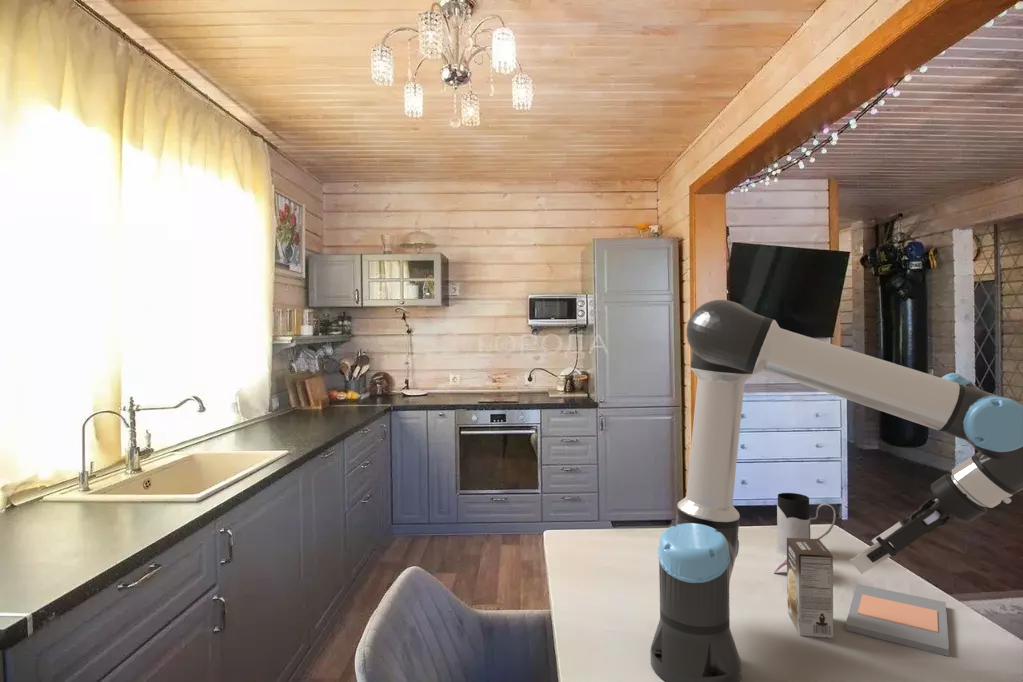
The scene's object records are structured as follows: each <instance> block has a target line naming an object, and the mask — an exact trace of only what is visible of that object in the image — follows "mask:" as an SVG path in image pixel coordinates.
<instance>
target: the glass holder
mask: <svg viewBox="0 0 1023 682" xmlns="http://www.w3.org/2000/svg"><path fill="white" fill-rule="evenodd" d="M823 506H828V507H830V508H831V509H832V511H833V520H832V523H831V525H830V527H829V529H828V530H827V531H826V532H825V533H823V534H821V536H819V537H818V538H817V537H816V539H819V540H820V541H821V539H823V538H824V537H825V536H827V535H828V534H829V533H831V531H832V529H833V528H834V526H835V522H836V510H835V508H834V506H832V504H828V503H821V504H819V505H818V506H817V508H816V509H815V517H811V516H810V497H809V496H807V495H804V494H801V493H795V492H781V493H778V494H777V504H776V509H777V510H776V513H777V514H776V515H777V516H776V520H777V521H776V524H777V533H776V534H777V546H776V549H775V552H776V551H777V552H778V553H780V554H782V555H785V556H787V538H805V539H811V521H812V520H813V521H814V520H816V519H817V518H818V516H819V510H820V508H821V507H823ZM777 552H776V553H777ZM778 553H777V554H778Z"/></svg>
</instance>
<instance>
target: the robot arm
mask: <svg viewBox="0 0 1023 682" xmlns="http://www.w3.org/2000/svg"><path fill="white" fill-rule="evenodd" d="M686 339H687V343H688V345H689V347H690V349H691V357H690V360H691V361H690V371H692V372H693V373H694V375H695V376H696V378H697V379H696V380H697V381H696V392H695V403H694V413H693V422H692V423H693V424H692V433H691V443H690V444H691V445H690V453H689V454H690V455H689V466H688V475H687V488H686V495H685V497H684V498H682V499H681V500H680V501H678V502H677V505H676V506H677V508H676V517H675V518H676V519H675V526H674V525H672V526H669V527H668V528H667V529H665V530H664V531H663V532H662V534H661V535H660V538H659V543H658V548H657V549H658V550H657V555H658V563H659V564H658V567H659V569H658V574H659V577H658V578H659V620H658V623H657V627H656V630H655V633H654V636H653V639H652V642H651V645H650V665H651V668H652V669H653V672H654V673H655V674H656V675H657V676H658V677H659V678H660V679H662V680H663V681H664V682H741V680H742V679H741V678H742V661H741V657H740V654H739V651H738V648H737V645H736V642H735V639H734V636H733V633H732V631H731V630H732V629H731V626H730V625H731V621H730V615H731V614H730V582H731V577H732V574H733V569H734V565H735V562H736V558H737V557H738V555H739V551H740V541H739V529H740V528H739V527H740V526H739V525H740V518H741V517H740V516H741V515H740V513H739V511H738V510H737V509H736V508H735V506H734V504H733V503H734V502H733V500H734V493H735V492H734V491H735V483H736V482H735V481H736V473H737V472H736V469H737V461H738V451H739V440H740V432H741V431H740V430H741V420H742V411H743V401H744V400H743V399H744V391H745V384H746V382H747V381H748V380H750V378H752V377H754V375H756V374H759V373H762V372H766V373H768V374H772V375H774V376H777V377H781V378H783V379H787V380H789V381H792V382H795V383H797V384H801V385H804V386H806V387H810V388H813V389H815V390H819V391H822V392H824V393H827V394H830V395H833V396H836V397H838V398H839V397H840V398H842V399H845V400H847V401H851V402H853V403H857V404H859V405H863V406H865V407H868V408H871V409H873V410H877V411H880V412H884V413H886V414H889V415H892V416H895V417H898V418H901V419H903V420H907V421H910V422H912V423H915V424H919V425H922V426H924V427H927V428H931V429H934V430H936V431H939V432H942V433H943V434H947V435H948V436H949V435H950V436H952V437H955V438H959V439H961V440H964V441H966V443H968V444H970V445H971V446H972V448H974V449H975V450H976V451H978V452H977V453H975V454H974V455H971V456H970V457H968V458H967V459H966V460H964V461H963V462H961V463H960V464H958V465H957V466H955V467H953V468H952V469H951V473H946V474H944V475H942V476H941V477H939V478H938V479H936V480H935V481H934V482H933V483H931V485H930V490H931V492H932V494H933V496H934V497H935V499H932V498H929V499H928V500H926V501H925V502H923V503H922V505H921V506H919V507H918V508H917V509H916V510H915V511H913V513H909V514H907V516H906V517H904V518H903V519H902V520H901V521H898V522H897V523H895V524H894V525H893V526H891V527H890V528H888V529H886V530H885V531H883V532H882V533H880V534H879V535H877V536H876V537H874V538H873V539H872V540H871V543H873V544H872V545H871V546H869V547H867V548H865V550H863V551H861V552H860V553H858V554H856V555H855V556H854V557H852V558H850V559H849V562H850V563H851V564H852V565H853V566H854V568H855V569H857V571H859V573H860V574H861V575H863V574H865V573H866V572H867V571H870V570H871V569H872V568H875V567H876V566H877V565H879V564H880V563H882V562H884V561H885V560H887V559H889V558H890V557H895V556H897V554H898V553H899V552H901V551H903V549H905V548H906V547H908V546H909V545H910V544H912V543H914V542H915V541H917V540H918V539H919V538H921V537H922V536H924V535H927V534H929V533H931V532H932V531H933V530H935V529H937V528H939V527H942V526H943V525H945V524H946V523H948V522H949V520H950V519H951V516H949V515H953V516H955V517H956V519H959V520H960V521H963V522H964V523H965V522H966V523H970V522H972V521H974V520H976V519H977V518H980V517H981V516H982V515H984V514H986V513H988V508H989V509H990V508H991V509H993V508H994V507H997V506H998V505H999V504H1001V502H1002V501H1003V503H1005V504H1010V503H1011V502H1012V499H1011V497H1012V496H1013V495H1016V494H1018V493H1020V491H1023V405H1022V404H1021V403H1019V402H1017V401H1016V400H1015V399H1013V398H1010V397H1006V396H1003V395H1000V394H994V393H990V392H988V391H984V390H981V389H980V388H979V387H978V386H976V385H975V384H974V382H973V381H972V380H968V379H967V378H965V377H964V376H963V375H961V374H960V373H958V372H950V373H947V374H945V375H944V376H942V377H939V376H936V375H933V374H930V373H926V372H923V371H920V370H917V369H914V368H910V367H906V366H905V365H904V366H903V365H900V364H897V363H894V362H891V361H888V360H884V359H881V358H877V357H874V356H872V355H868V354H865V353H862V352H859V351H855V350H852V349H848V348H845V347H843V346H839V345H835V344H834V343H829V342H826V341H822V340H820V339H816V338H813V337H810V336H807V335H804V334H800V333H798V332H793V331H790V330H789V329H784V328H781V327H780V326H779V323H778V322H777V320H776V319H772V318H769V317H766V316H763V315H760V314H758V313H755V312H753V311H752V310H750V309H749V308H748V307H746V306H744V305H743V304H740V303H739V302H738V303H737V302H735V301H733V300H732V301H731V300H729V299H715V300H710V301H708V302H705V303H704V304H701V305H700V306H698V307H697V308H696V309H695V310H694V311H693V312H692V314H691V315H690V317H689V319H688V322H687V325H686Z"/></svg>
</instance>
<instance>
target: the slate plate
mask: <svg viewBox="0 0 1023 682" xmlns="http://www.w3.org/2000/svg"><path fill="white" fill-rule="evenodd" d="M850 603H851V604H850V607H849V611H848V614H847V619H846V622H845V631H848V632H851V633H856V634H860V635H863V636H866V637H871V638H876V639H879V640H882V641H883V640H884V641H888V642H892V643H895V644H899V645H903V646H907V647H910V648H914V649H918V650H922V651H926V652H931V653H935V654H938V655H943V656H947V657H950V644H949V633H948V632H949V630H948V614H947V602H946V601H942V600H936V599H932V598H928V597H922V596H918V595H913V594H908V593H904V592H899V591H893V590H890V589H884V588H880V587H874V586H871V585H867V584H861V583H856V585H855V589H854V593H853V596H852V600H851V602H850Z"/></svg>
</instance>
